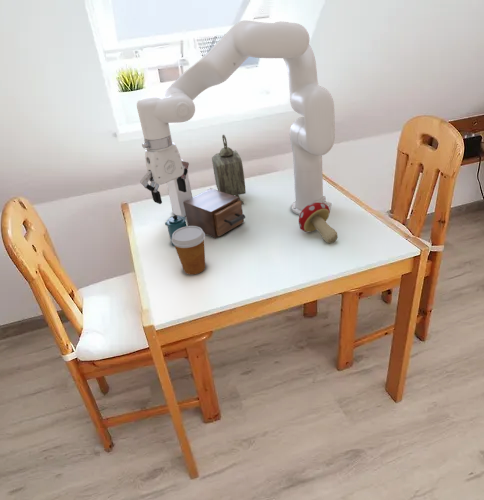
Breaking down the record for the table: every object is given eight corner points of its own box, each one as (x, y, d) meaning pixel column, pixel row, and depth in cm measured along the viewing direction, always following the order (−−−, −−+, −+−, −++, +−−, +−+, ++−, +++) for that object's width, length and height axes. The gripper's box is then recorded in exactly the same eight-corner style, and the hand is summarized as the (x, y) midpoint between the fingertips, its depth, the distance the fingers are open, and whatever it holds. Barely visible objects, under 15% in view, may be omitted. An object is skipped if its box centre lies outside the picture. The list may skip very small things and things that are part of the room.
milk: (195, 212, 162) (184, 154, 150) (181, 218, 158) (170, 159, 147) (185, 207, 166) (174, 151, 154) (172, 213, 162) (160, 156, 151)
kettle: (197, 242, 142) (192, 215, 137) (183, 250, 139) (177, 223, 134) (176, 233, 149) (170, 207, 144) (162, 240, 145) (155, 214, 140)
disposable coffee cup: (197, 281, 124) (189, 244, 117) (171, 273, 128) (163, 237, 122) (217, 263, 130) (211, 228, 124) (192, 257, 135) (185, 222, 129)
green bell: (247, 205, 162) (239, 139, 148) (223, 210, 160) (213, 143, 147) (239, 190, 174) (231, 128, 161) (217, 195, 172) (207, 132, 159)
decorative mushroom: (344, 221, 127) (314, 189, 135) (314, 246, 128) (286, 213, 136) (353, 235, 136) (325, 205, 144) (325, 258, 137) (298, 227, 145)
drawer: (252, 225, 147) (249, 204, 143) (227, 239, 140) (224, 218, 136) (218, 212, 157) (214, 192, 153) (193, 225, 150) (189, 205, 146)
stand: (242, 222, 151) (239, 197, 146) (215, 238, 143) (211, 212, 138) (214, 212, 159) (210, 188, 154) (188, 226, 152) (183, 201, 147)
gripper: (141, 153, 119) (155, 210, 128) (190, 135, 129) (199, 189, 138) (125, 149, 123) (140, 204, 132) (174, 132, 134) (184, 184, 142)
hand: (170, 196), depth 135 cm, fingers open, 9 cm apart
